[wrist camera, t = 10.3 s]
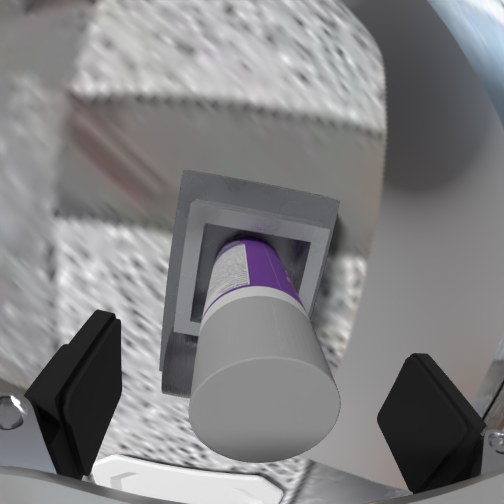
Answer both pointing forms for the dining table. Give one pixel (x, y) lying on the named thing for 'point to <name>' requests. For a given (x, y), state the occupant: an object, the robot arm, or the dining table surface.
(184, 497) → the plate
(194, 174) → the block
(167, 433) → the dining table surface
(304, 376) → the container
